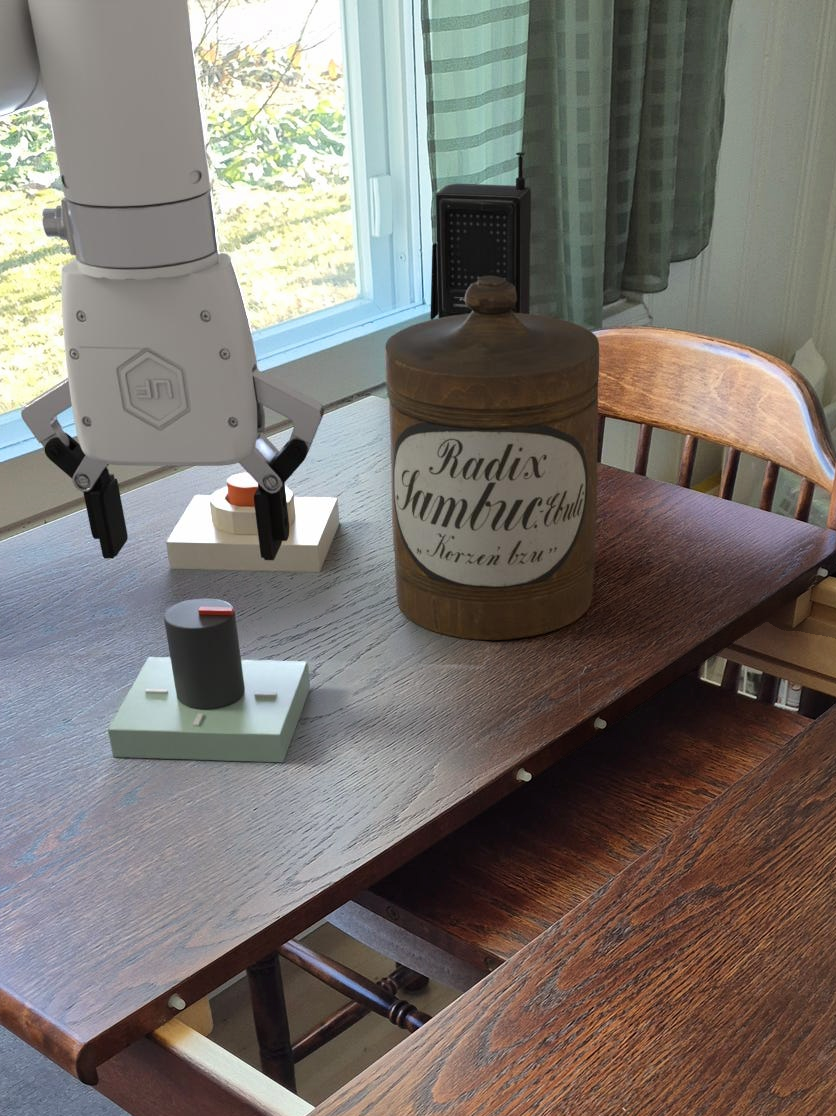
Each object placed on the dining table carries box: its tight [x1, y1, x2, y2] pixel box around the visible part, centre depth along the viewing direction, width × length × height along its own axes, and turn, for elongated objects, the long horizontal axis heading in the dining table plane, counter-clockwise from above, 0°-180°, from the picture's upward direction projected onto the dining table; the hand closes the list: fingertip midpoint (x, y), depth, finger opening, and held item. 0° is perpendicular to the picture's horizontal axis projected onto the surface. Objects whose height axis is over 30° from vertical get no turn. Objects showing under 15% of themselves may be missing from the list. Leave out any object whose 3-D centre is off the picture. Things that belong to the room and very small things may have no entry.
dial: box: [163, 598, 245, 709], centre depth 91 cm, size 4×4×6 cm
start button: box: [226, 471, 258, 507], centre depth 113 cm, size 4×4×2 cm
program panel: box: [107, 656, 311, 763], centre depth 94 cm, size 11×10×2 cm
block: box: [165, 485, 341, 573], centre depth 115 cm, size 12×10×4 cm
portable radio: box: [429, 151, 532, 320], centre depth 118 cm, size 8×6×25 cm
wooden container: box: [384, 276, 600, 641], centre depth 101 cm, size 15×15×22 cm
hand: (193, 550), depth 87 cm, fingers open, 9 cm apart
